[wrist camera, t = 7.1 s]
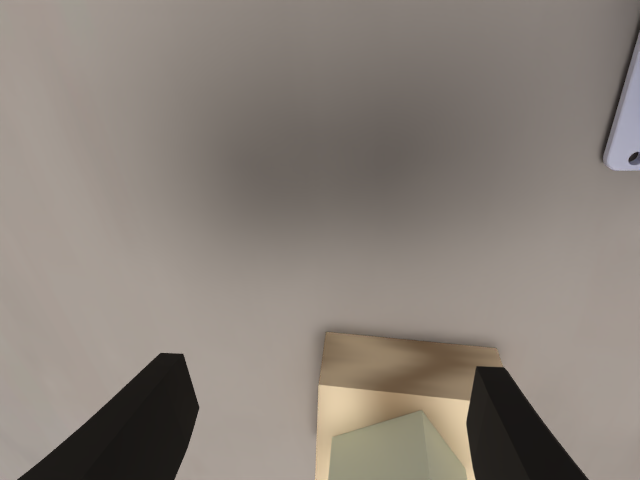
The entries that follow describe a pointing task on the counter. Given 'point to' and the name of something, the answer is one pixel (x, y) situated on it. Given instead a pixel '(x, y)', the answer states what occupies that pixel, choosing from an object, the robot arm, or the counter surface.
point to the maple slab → (396, 388)
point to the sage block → (394, 452)
